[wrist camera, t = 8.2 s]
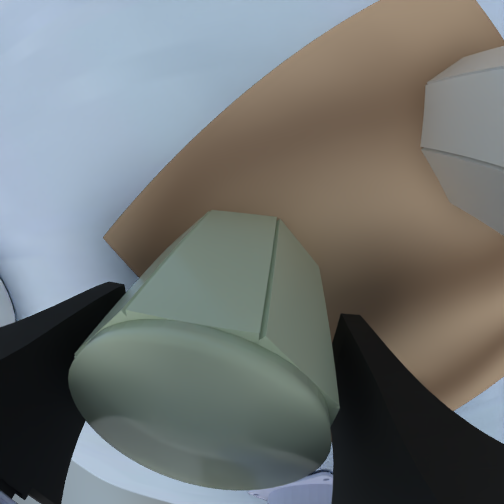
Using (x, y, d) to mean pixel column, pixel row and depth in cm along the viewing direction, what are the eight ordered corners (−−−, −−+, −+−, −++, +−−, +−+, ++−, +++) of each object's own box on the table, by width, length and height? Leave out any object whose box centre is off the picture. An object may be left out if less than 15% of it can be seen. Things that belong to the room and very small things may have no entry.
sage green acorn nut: (344, 298, 11) (377, 457, 5) (233, 362, 13) (200, 496, 7) (246, 179, 9) (169, 274, 3) (141, 271, 11) (41, 389, 5)
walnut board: (569, 306, 10) (573, 310, 9) (355, 452, 16) (355, 457, 16) (443, -27, 5) (448, -32, 5) (109, 233, 11) (102, 237, 11)
